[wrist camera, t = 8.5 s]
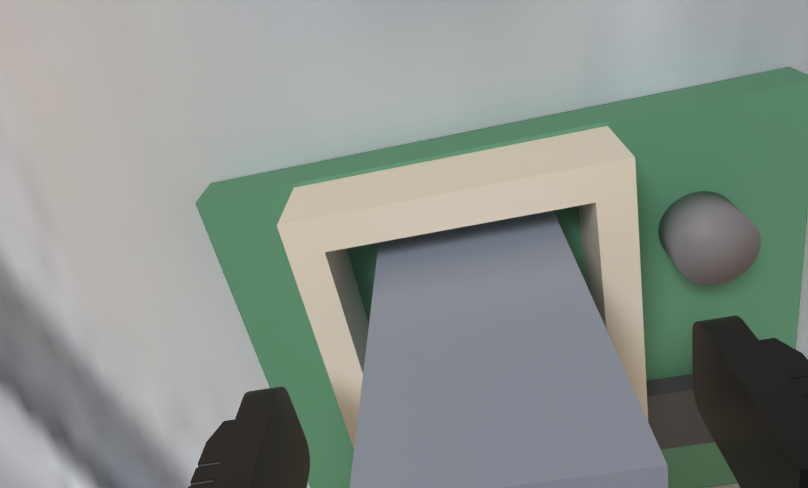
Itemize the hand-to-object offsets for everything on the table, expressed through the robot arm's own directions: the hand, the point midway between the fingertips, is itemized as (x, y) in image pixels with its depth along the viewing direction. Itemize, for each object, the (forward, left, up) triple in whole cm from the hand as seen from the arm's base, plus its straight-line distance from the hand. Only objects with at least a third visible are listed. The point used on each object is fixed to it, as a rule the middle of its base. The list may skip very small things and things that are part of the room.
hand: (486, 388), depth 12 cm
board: (-1, +2, -5) cm, 6 cm away
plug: (0, 0, -4) cm, 4 cm away
